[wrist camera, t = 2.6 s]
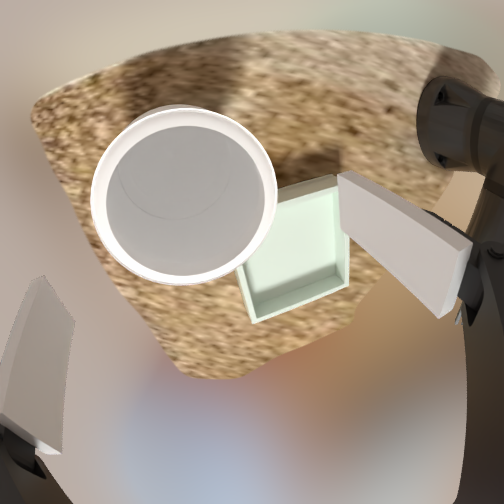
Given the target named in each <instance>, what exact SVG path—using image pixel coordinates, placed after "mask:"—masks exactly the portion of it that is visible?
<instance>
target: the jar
mask: <svg viewBox="0 0 504 504" xmlns="http://www.w3.org/2000/svg"><path fill="white" fill-rule="evenodd" d="M276 207H277V181H276V176H275V172H274V169H273V166H272V163H271V161H270V159H269V157H268V155H267V153H266V151H265V150H264V148H263V147H262V145H261V144H260V143H259V141H258V140H257V139H256V138H255V137H254V136H253V135H252V134H251V133H250V132H249V131H248V130H247V129H246V128H244V127H243V126H242V125H240V124H239V123H237V122H235V121H234V120H232V119H230V118H228V117H226V116H224V115H221V114H218V113H215V112H212V111H209V110H207V109H204V108H201V107H197V106H192V105H184V104H175V105H167V106H162V107H158V108H155V109H153V110H150V111H148V112H146V113H144V114H142V115H141V116H139V117H138V118H136V119H135V120H134V121H132V122H131V123H130V124H129V125H128V126H127V127H126V128H125V129H124V130H123V131H122V132H121V134H120V135H119V136H117V138H116V139H115V140H114V141H113V142H112V143H111V144H110V146H109V147H108V148H107V150H106V151H105V153H104V154H103V156H102V158H101V160H100V162H99V164H98V166H97V168H96V171H95V174H94V177H93V182H92V187H91V213H92V218H93V222H94V225H95V228H96V231H97V233H98V235H99V238H100V239H101V241H102V243H103V245H104V246H105V248H106V249H107V250H108V252H109V253H110V254H111V255H112V256H113V257H114V258H115V259H116V260H117V261H118V262H119V263H120V264H121V265H122V266H124V267H125V268H126V269H128V270H129V271H131V272H132V273H134V274H136V275H138V276H140V277H142V278H144V279H147V280H150V281H153V282H157V283H161V284H166V285H178V286H184V285H195V284H201V283H205V282H209V281H212V280H215V279H218V278H220V277H222V276H224V275H226V274H228V273H230V272H232V271H233V270H235V269H237V268H238V267H239V266H241V265H242V264H243V263H245V262H246V261H247V260H248V259H249V258H250V257H251V256H252V255H253V254H254V253H255V252H256V251H257V249H258V248H259V247H260V245H261V244H262V243H263V241H264V240H265V238H266V236H267V234H268V232H269V230H270V228H271V225H272V223H273V220H274V216H275V212H276Z"/></svg>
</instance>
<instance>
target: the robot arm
mask: <svg viewBox="0 0 504 504" xmlns="http://www.w3.org/2000/svg"><path fill="white" fill-rule="evenodd" d="M417 133H418V139H419V144H420V147H421V150H422V152H423V154H424V156H425V157H426V158H427V160H428V161H429V162H430V163H432V164H433V165H435V166H438V167H440V168H442V169H444V170H449V171H466V172H477V173H479V174H481V175H483V176H485V181H484V184H483V187H482V189H481V193H480V196H479V199H478V201H477V204H476V207H475V210H474V213H473V215H472V218H471V220H470V223H469V225H468V228H467V230H466V232H465V233H464V232H463V231H461V230H460V229H458V228H457V227H455V226H452V224H450V223H449V222H448V221H446V220H445V221H444V219H443V218H441V217H440V216H438V215H437V214H435V213H433V212H430V211H427V210H424V209H420V208H419V207H417V206H415V205H414V204H412V203H410V202H409V201H407V200H405V199H404V198H402V197H400V196H398V195H397V194H395V193H393V192H391V191H389V190H388V189H386V188H384V187H382V186H380V185H379V184H377V183H375V182H373V181H371V180H369V179H367V178H365V177H363V176H362V175H360V174H358V173H356V172H354V171H352V170H350V171H347V172H343V173H339V174H337V182H338V197H339V217H340V229H341V230H342V231H343V232H345V233H346V234H347V235H348V236H349V237H350V238H352V239H353V240H354V241H355V242H356V243H357V244H359V245H360V246H361V247H362V248H363V249H364V250H366V251H367V252H368V253H369V254H370V255H371V256H372V257H373V258H375V259H376V260H377V261H378V262H379V263H380V264H381V265H382V266H384V267H385V268H386V269H387V270H388V271H389V272H390V273H391V274H392V275H393V276H395V277H396V278H397V279H398V280H399V281H400V282H401V283H402V284H403V285H404V286H405V287H406V288H407V289H408V290H410V291H411V292H412V293H413V294H414V295H415V296H416V297H417V298H418V299H419V300H420V301H421V302H422V303H423V304H424V305H425V306H426V307H427V308H428V309H429V310H430V311H431V312H432V313H433V314H434V315H435V316H436V317H437V318H438V319H439V318H441V317H442V316H444V315H445V314H446V313H448V312H449V311H451V310H452V309H453V307H454V304H455V301H456V298H457V296H458V297H459V298H460V299H461V300H462V304H461V307H460V309H459V312H458V314H457V317H456V319H455V324H458V322H459V319H460V317H461V316H462V323H461V325H463V331H464V340H465V352H466V370H467V423H466V437H465V449H464V458H463V467H462V473H461V479H460V485H459V490H458V495H457V498H456V500H455V502H454V503H453V504H504V101H502V100H498V99H495V98H491V97H488V96H486V95H484V94H483V93H481V92H480V91H478V90H476V89H475V88H473V87H472V86H470V85H468V84H467V83H465V82H463V81H461V80H459V79H457V78H452V77H446V76H440V77H437V78H435V79H433V80H432V81H431V82H430V83H429V84H428V85H427V87H426V88H425V90H424V92H423V94H422V96H421V99H420V103H419V107H418V113H417ZM486 189H487V190H486ZM74 326H75V320H74V319H73V317H72V316H71V314H70V313H69V312H68V310H67V309H66V307H65V306H64V304H63V303H62V302H61V300H60V299H59V297H58V296H57V294H56V293H55V291H54V290H53V288H52V287H51V285H50V284H49V282H48V280H47V279H46V277H45V276H44V275H43V276H41V277H38V278H36V279H34V280H32V281H31V283H30V285H29V288H28V290H27V292H26V294H25V297H24V299H23V301H22V304H21V307H20V309H19V311H18V314H17V316H16V319H15V322H14V324H13V327H12V330H11V333H10V335H9V338H8V341H7V344H6V347H5V351H4V353H3V357H2V360H1V363H0V504H73V503H72V502H71V501H70V499H69V498H68V497H67V495H66V494H65V493H64V491H63V490H62V489H61V487H60V486H59V484H58V483H57V482H56V480H55V479H54V477H53V476H52V474H51V473H50V472H49V470H48V469H47V467H46V466H45V464H44V462H43V461H42V460H41V459H40V457H39V456H37V455H35V448H37V449H39V450H40V451H42V452H44V453H45V454H62V430H63V410H64V397H65V386H66V378H67V369H68V362H69V355H70V348H71V342H72V336H73V331H74Z"/></svg>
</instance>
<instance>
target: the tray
mask: <svg viewBox="0 0 504 504" xmlns="http://www.w3.org/2000/svg"><path fill="white" fill-rule="evenodd" d="M234 272H235V275H236V278H237V282H238V285H239V289H240V292H241V295H242V299H243V302H244V305H245V308H246V310H247V313H248V315H249V317H250V319H251V322H252V324H254V323H257V322H260V321H263V320H265V319H268V318H271V317H273V316H276V315H278V314H281V313H284V312H286V311H289V310H291V309H294V308H296V307H299V306H301V305H304V304H306V303H309V302H311V301H314V300H316V299H318V298H321V297H323V296H326V295H328V294H330V293H333V292H335V291H337V290H340V289H342V288H344V287H347V286H349V236H348V235H347V234H346V233H345V232H343V231H342V230H341V229H340V217H339V197H338V182H337V177H336V176H334V175H333V174H329V175H325V176H321V177H318V178H314V179H310V180H307V181H303V182H300V183H296V184H293V185H289V186H286V187H282V188H279V189H277V207H276V212H275V216H274V220H273V223H272V225H271V228H270V230H269V232H268V234H267V236H266V238H265V240H264V241H263V243H262V244H261V245H260V247H259V248H258V249H257V251H256V252H255V253H254V254H253V255H252V256H251V257H250V258H249V259H248V260H247V261H246V262H245V263H243V264H242V265H241V266H239V267H238V268H237V269H235V270H234Z"/></svg>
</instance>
